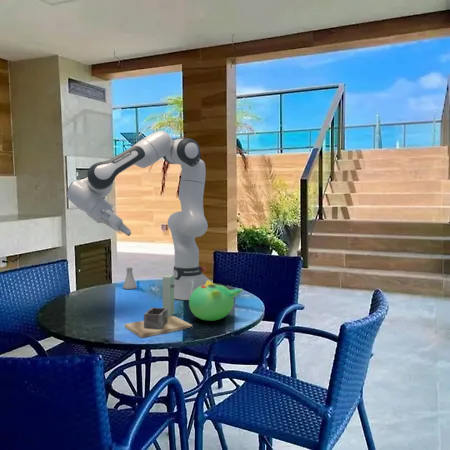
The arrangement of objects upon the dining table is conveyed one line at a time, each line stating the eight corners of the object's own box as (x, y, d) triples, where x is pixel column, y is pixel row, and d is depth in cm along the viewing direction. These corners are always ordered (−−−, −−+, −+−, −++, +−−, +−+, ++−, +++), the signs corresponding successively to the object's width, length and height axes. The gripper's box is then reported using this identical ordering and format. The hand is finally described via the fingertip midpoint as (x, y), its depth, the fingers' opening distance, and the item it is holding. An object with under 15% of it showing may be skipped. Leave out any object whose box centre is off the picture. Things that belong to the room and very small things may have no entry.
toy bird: (211, 311, 194) (211, 275, 192) (244, 319, 183) (244, 281, 182) (180, 320, 180) (180, 282, 178) (213, 329, 169) (214, 289, 168)
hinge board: (173, 318, 182) (173, 302, 181) (192, 328, 170) (192, 311, 170) (124, 327, 170) (124, 310, 170) (141, 337, 159) (141, 319, 158)
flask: (133, 290, 229) (133, 269, 228) (119, 289, 230) (119, 269, 229) (139, 286, 236) (139, 267, 235) (125, 286, 237) (125, 266, 237)
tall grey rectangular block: (166, 313, 189) (166, 274, 187) (177, 314, 188) (177, 274, 187) (162, 317, 183) (162, 277, 182) (173, 318, 182) (173, 277, 181)
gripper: (105, 201, 178) (134, 224, 179) (108, 209, 198) (135, 230, 199) (94, 214, 177) (124, 237, 178) (99, 221, 197) (125, 241, 198)
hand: (129, 233), depth 189 cm, fingers open, 8 cm apart
